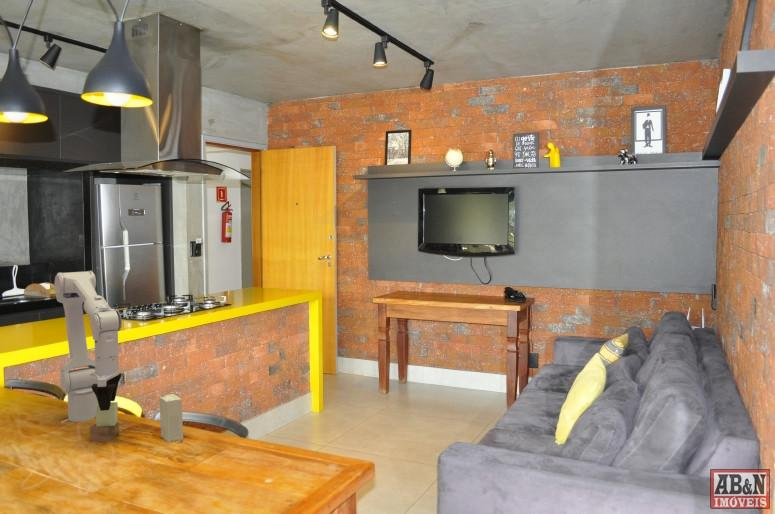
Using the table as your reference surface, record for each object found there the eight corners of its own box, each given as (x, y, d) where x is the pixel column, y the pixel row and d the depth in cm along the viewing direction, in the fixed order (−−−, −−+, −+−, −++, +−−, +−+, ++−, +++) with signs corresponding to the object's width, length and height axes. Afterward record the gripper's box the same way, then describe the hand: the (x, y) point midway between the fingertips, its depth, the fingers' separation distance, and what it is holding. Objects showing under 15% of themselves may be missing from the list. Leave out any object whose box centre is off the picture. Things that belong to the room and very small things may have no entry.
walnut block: (103, 434, 167) (103, 420, 167) (119, 436, 166) (118, 422, 166) (90, 441, 162) (90, 426, 162) (106, 443, 161) (106, 428, 161)
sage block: (99, 420, 166) (99, 402, 166) (117, 419, 168) (117, 402, 167) (96, 426, 162) (96, 408, 162) (114, 425, 163) (114, 407, 163)
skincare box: (184, 442, 165) (183, 398, 164) (167, 446, 162) (166, 401, 161) (175, 435, 170) (175, 393, 169) (159, 439, 167) (158, 396, 166)
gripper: (96, 350, 169) (97, 397, 170) (83, 363, 155) (85, 415, 156) (123, 349, 171) (124, 396, 172) (113, 362, 157) (114, 413, 158)
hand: (107, 405), depth 164 cm, fingers open, 7 cm apart
